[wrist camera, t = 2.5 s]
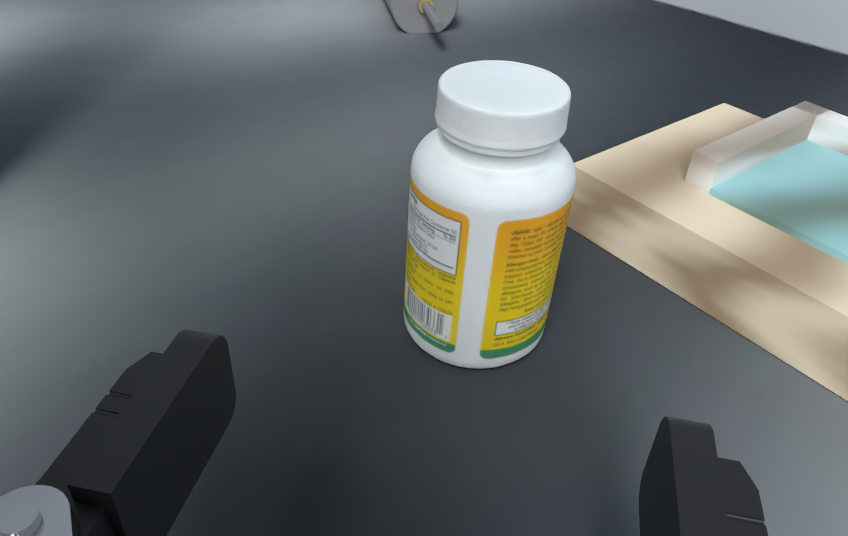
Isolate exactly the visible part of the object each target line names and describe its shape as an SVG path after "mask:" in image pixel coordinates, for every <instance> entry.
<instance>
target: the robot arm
mask: <svg viewBox="0 0 848 536" xmlns="http://www.w3.org/2000/svg"><path fill="white" fill-rule="evenodd" d="M235 401H236V391H235V385H234V379H233V373H232V367H231V361H230V356H229V350H228V344H227V341H226V339H225V337H223V336H219V335H214V334H208V333H202V332H197V331H191V330H183V331H181V332H180V333H179V334H178V335H177V336H176V337H175V339H174V340H173V341H172V343H171V344H170V345H169V347H168V348H167V349H166V351H165V352H164V353H163V354H161V353H155V352H151V353H149V354H148V355H146V356H145V357H143V358H142V359H140V360H139V361H137V362H136V363H135V364H133V365H132V366H130V367H129V368H127V369H126V370H125V372H124V373H123V374H122V375H121V377H120V378H119V379H118V380H117V382H116V383H115V384H114V386H113V387H112V388H111V389H110V393H109V395H106V396H105V397H104V398H103V400H102V401H101V402H100V403H99V405H98V406H97V407H96V411H95V413H92V414H91V415H90V416H89V418H88V419H87V420H86V421H85V423H84V424H83V425H82V426H81V428H80V429H79V430H78V432H77V433H76V434H75V435H74V437H73V438H72V439H71V441H70V442H69V443H68V444H67V446H66V447H65V448H64V449H63V451H62V452H61V453H60V455H59V456H58V457H57V458H56V460H55V461H54V462H53V464H52V465H51V466H50V467H49V469H48V470H47V471H46V472H45V474H44V475H43V476H42V477H41V479H40V480H39V481H38V482H37V483H36V484H35V485H32V486H26V487H22V488H18V489H16V490H13V491H11V492H9V493H7V494H4V495H3V496H1V497H0V536H166V535H167V533H168V531H169V530H170V528H171V526H172V524H173V523H174V521H175V519H176V517H177V515H178V514H179V512H180V510H181V508H182V507H183V505H184V503H185V501H186V499H187V498H188V496H189V494H190V492H191V491H192V489H193V487H194V485H195V483H196V482H197V480H198V478H199V476H200V475H201V473H202V471H203V469H204V468H205V466H206V464H207V462H208V460H209V459H210V457H211V455H212V453H213V452H214V450H215V448H216V446H217V444H218V443H219V441H220V439H221V437H222V436H223V434H224V432H225V430H226V428H227V427H228V425H229V423H230V420H231V418H232V415H233V412H234V407H235ZM639 519H640V536H768V533H767V528H766V526H765V525H764V520H765V519H764V514H763V510H762V505H761V500H760V496H759V491H758V489H757V487H756V486H755V484H754V483H753V481H752V480H751V478H750V477H749V475H748V473H747V472H746V470H745V469H744V467H743V466H742V464H741V463H740V462H739V461H733V460H728V459H723V458H718V457H717V451H716V445H715V439H714V433H713V429H712V427H711V425H710V424H705V423H700V422H694V421H689V420H683V419H677V418H672V417H666V416H665V417H664V418H663V419H662V421H661V423H660V426H659V429H658V432H657V434H656V437H655V440H654V443H653V445H652V448H651V451H650V454H649V457H648V459H647V462H646V465H645V468H644V471H643V474H642V479H641V484H640V493H639Z"/></svg>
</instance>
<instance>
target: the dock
mask: <svg viewBox="0 0 848 536" xmlns="http://www.w3.org/2000/svg"><path fill="white" fill-rule="evenodd" d="M574 166H575V171H576V184H575V190H574V195H573V200H572V204H571V210H570V214H569V218H568V223H567V226H568V227H570V228H571V229H573V230H574V231H576V232H578V233H579V234H581V235H582V236H584V237H586V238H587V239H589V240H590V241H592V242H594V243H595V244H597V245H598V246H600V247H602V248H603V249H605V250H606V251H608V252H610V253H611V254H613V255H614V256H616V257H618V258H619V259H621V260H622V261H624V262H626V263H627V264H629V265H631V266H632V267H634V268H635V269H637V270H639V271H640V272H642V273H643V274H645V275H647V276H648V277H650V278H651V279H653V280H655V281H656V282H658V283H659V284H661V285H663V286H664V287H666V288H667V289H669V290H671V291H672V292H674V293H675V294H677V295H679V296H680V297H682V298H683V299H685V300H687V301H688V302H690V303H691V304H693V305H695V306H696V307H698V308H699V309H701V310H703V311H704V312H706V313H707V314H709V315H711V316H712V317H714V318H715V319H717V320H719V321H720V322H722V323H723V324H725V325H727V326H728V327H730V328H731V329H733V330H735V331H736V332H738V333H739V334H741V335H743V336H744V337H746V338H747V339H749V340H751V341H752V342H754V343H755V344H757V345H759V346H760V347H762V348H763V349H765V350H767V351H768V352H770V353H771V354H773V355H775V356H776V357H778V358H779V359H781V360H783V361H784V362H786V363H787V364H789V365H791V366H792V367H794V368H795V369H797V370H799V371H800V372H802V373H803V374H805V375H807V376H808V377H810V378H811V379H813V380H815V381H816V382H818V383H819V384H821V385H823V386H824V387H826V388H827V389H829V390H831V391H832V392H834V393H835V394H837V395H839V396H840V397H842V398H843V399H845V400H847V401H848V117H847V116H844V115H841V114H839V113H836V112H833V111H831V110H828V109H825V108H822V107H820V106H817V105H814V104H812V103H809V102H806V101H804V102H802V103H800V104H798V105H795V106H793V107H791V108H789V109H786V110H784V111H782V112H780V113H777V114H775V115H773V116H771V117H768V118H766V119H763V118H760V117H758V116H755V115H753V114H750V113H748V112H745V111H743V110H740V109H738V108H736V107H733V106H731V105H728V104H726V103H723V104H721V105H718V106H716V107H713V108H711V109H708V110H706V111H703V112H701V113H698V114H696V115H693V116H691V117H688V118H686V119H683V120H681V121H678V122H676V123H673V124H671V125H668V126H666V127H663V128H661V129H658V130H656V131H653V132H651V133H648V134H646V135H643V136H641V137H638V138H636V139H633V140H631V141H628V142H626V143H623V144H621V145H618V146H616V147H613V148H611V149H608V150H606V151H603V152H601V153H598V154H596V155H593V156H591V157H588V158H586V159H583V160H581V161H578V162H576V163H574Z"/></svg>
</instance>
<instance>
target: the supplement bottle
mask: <svg viewBox="0 0 848 536" xmlns="http://www.w3.org/2000/svg"><path fill="white" fill-rule="evenodd" d="M570 100H571V92H570V89H569V87H568V85H567V84H566V83H565V82H564V81H563V80H562V79H561V78H560V77H558V76H557V75H555V74H553V73H551V72H549V71H547V70H544V69H542V68H539V67H535V66H532V65H528V64H523V63H518V62H512V61H499V60H486V61H475V62H468V63H463V64H460V65H457V66H455V67H452V68H450V69H449V70H447V71H446V72H445V73H443V75H442V76H441V77H440V79H439V83H438V92H437V103H436V110H435V119H436V121H437V126H438V128H437V129H435V130H433V131H432V132H430V133H429V134H428V135H427V136H425V137H424V139H423V140H422V141H421V142H420V143H419V145H418V146H417V148H416V150H415V152H414V155H413V158H412V162H411V173H410V191H409V211H408V229H407V249H406V269H405V289H404V320H405V324H406V327H407V330H408V332H409V333H410V335H411V337H412V338H413V340H414V341H415V342H416V343H417V344H418V345H419V347H420V348H422V349H423V350H424V351H425V352H427V353H428V354H430V355H432V356H433V357H435V358H437V359H439V360H441V361H443V362H446V363H449V364H452V365H455V366H459V367H465V368H476V369H481V368H493V367H498V366H502V365H505V364H508V363H511V362H513V361H516V360H518V359H520V358H522V357H523V356H525V355H527V354H528V353H529V352H530V351H531V350H533V349H534V347H535V346H536V345H537V343H538V342H539V340H540V339H541V336H542V334H543V331H544V328H545V323H546V319H547V315H548V309H549V304H550V300H551V296H552V291H553V286H554V281H555V277H556V272H557V267H558V263H559V258H560V254H561V250H562V245H563V240H564V236H565V232H566V227H567V223H568V218H569V214H570V210H571V204H572V200H573V195H574V190H575V184H576V171H575V166H574V163H573V160H572V158H571V156H570V154H569V153H568V151H567V150H566V149H565V147H564V146H563V145H562V144H561V143H560V142H559V140H560V138H561V137H562V136H563V135H564V133H565V131H566V128H567V119H568V112H569V106H570Z"/></svg>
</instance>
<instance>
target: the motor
mask: <svg viewBox="0 0 848 536" xmlns="http://www.w3.org/2000/svg"><path fill="white" fill-rule="evenodd" d="M385 1H386V3H387V5H388V7H389V9H390V11H391V13H392V15H393V18H394V20H395V21H396V23H397V24H398V26H399V27H400V28H401V29H402V30H403V31H405V32H406V33H439V32H441V31H443V30H444V29H445V28H446V27H447V26H448V25H449V24H450V23H451V21H452V20H453V18H454V16H455V13H456V10H457V6H458V0H385Z"/></svg>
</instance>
